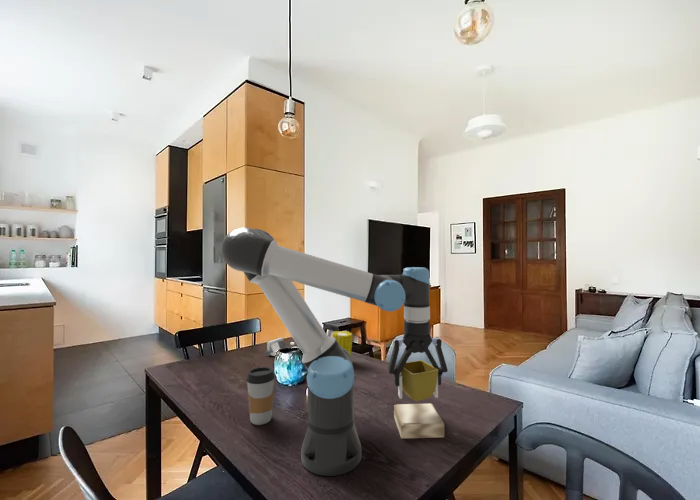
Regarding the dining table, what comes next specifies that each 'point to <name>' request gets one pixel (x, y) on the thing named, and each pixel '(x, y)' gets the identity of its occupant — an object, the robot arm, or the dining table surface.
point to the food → (344, 340)
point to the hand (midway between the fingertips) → (417, 396)
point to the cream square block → (418, 421)
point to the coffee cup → (260, 394)
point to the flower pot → (419, 380)
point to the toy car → (276, 346)
